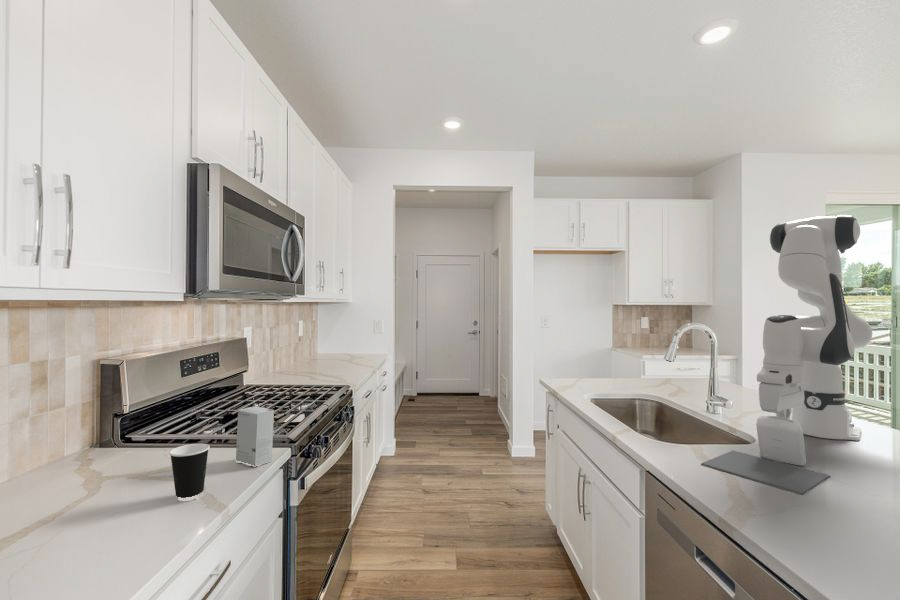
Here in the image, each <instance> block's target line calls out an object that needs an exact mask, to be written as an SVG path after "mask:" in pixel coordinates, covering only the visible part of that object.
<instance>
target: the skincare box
mask: <svg viewBox="0 0 900 600" xmlns="http://www.w3.org/2000/svg"><path fill="white" fill-rule="evenodd" d="M274 414H275V410H274V409H272V408H266V407H262V406H261V407H260V406H255V405H253V406H250V407H249V406H248V407H245V408H240V409H237V428H236V430H237V431H236V432H237V433H236V449H235V450H236V451H235V461H236V460H237V461H241V462H244V463H248V464H251V465H254V466H256V465H259V464H262V463H265V462H269V461H273V443H274V442H273V441H274V422H275V421H274Z"/></svg>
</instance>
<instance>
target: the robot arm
mask: <svg viewBox="0 0 900 600" xmlns="http://www.w3.org/2000/svg"><path fill="white" fill-rule="evenodd" d="M860 235H861V226H860V224H859V222H858V220H857V218H855V217H854V216H853V215H849V214H848V215H847V214H838V215H837V216H835V215H830V216H829V215H828V216H826V215H825V216H815V217H810V218H804V219H797V220H792V221H784V222H781V223H777V224H776V225H775V226H774V227H772V229H771V231H770V234H769V243H770V245H771V248H772V250H773V251H774V252H776V253H779V258H778V265H777V266H778V267H777V268H778V269H777V270H778V275H779V278H780V280H781V281H782V282H783V283H784V284H785V285H787V286H788V287H790V288H792V289H795V290H797V296H798V298H799V299H800V300H801V302H804V303H805V304H807V305H810V306H814V307H815V308H817V309H818V310H819V311H818V312H819V315H791V314H790V315H789V314H781V315H779V314H778V315H772V316H769V317H767V318H766V319H765V321H764V324H763V325H764V326H763V333H762V349H763V352H764V356H763V360H762V368H761V370H760V371H759V372H758V373H757V374H756V382H758V383H759V385H758V399H759V406H760V409H761V411H763V412H766V413H774V414H775V416H777V417H783V418H787V419H791V420H794V421H796V422H799V423H800V424H801V426H802V430H803V435H806V436H810V437H815V438H821V439H828V440H829V439H830V440H846V441H847V440H849V441H860V439H861V435H862V434H861V433H862V428H860V427H859V426H858V427H857V426H855V424H854V423H853V416H852V412H851V411H850V409H849V408H848V407H847V405H846V403H847V402H846V391H844V390H843V388H844V387H843V382H844V381H843V371H842V368H841V367H840V366H841V365H843V364H846V363H847V362H849V361H850V360H851V359H853V358H854V354H855V349H860V348H864V347H866V346H867V345H868V344H869V343H870V342H871V340H872V337H873V329H872V327H871V325H870V324H869V322H868V321H866V320H865V319H864V318H862V317H861V316H859V315H857V314H856V313H854V312H853V311H852V309H851V308H850V307H849V306H848V304H847V302H846V301H845V295H844V291H843V283H842V281H843V279H842V275H843V274H842V263H841V255H840V254H844V253H845V252H846V250H849V249H851V248H852V247H854V245H856V244H857V242H858V240H859V238H860Z"/></svg>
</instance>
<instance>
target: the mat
mask: <svg viewBox="0 0 900 600" xmlns="http://www.w3.org/2000/svg"><path fill="white" fill-rule="evenodd" d="M701 466H705V467H708V468H712V469H715V470H718V471H721V472H725V473H728V474H732V475H735V476H738V477H741V478H746V479H748V480H751V481H756V482H759V483H763V484H765V485H768V486H772V487H774V488H779V489H783V490H785V491H789V492H790V493H791V492H792V493H795V494H798V495H802V496H803V495H805V494H806V493H807V491H808V492H810V491H811V490H812V489H814V488H815V487H817V486H818V485H820V484H821V483H823V482H824V481H826V480H827V479H829V478H831V475H830V474H827V473H823V472H819V471H816V470H811V469H808V468H807V469H806V468H804V467H799V466H797V465H793V464H789V463H785V462H780V461H776V460H771V459H767V458H763V457H761V456H756V455H752V454H749V453H744V452H742V451H741V452H740V451H737V450H732V449H731V450H730V451H728V452H725V453H723V454H720V455H718V456H716V457H713V458H711V459H709V460H708V459H707V460H706V461H703V462H701ZM810 489H811V490H810Z"/></svg>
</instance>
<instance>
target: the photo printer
mask: <svg viewBox="0 0 900 600" xmlns="http://www.w3.org/2000/svg"><path fill="white" fill-rule="evenodd" d="M791 419H792V418H790V419H787V418H783V417H777V416H776V415H761V416H758V417H757V419H756V432H757V433H756V434H757V440H758V450H759V455H760V456H759V457H761V458H765V459H769V460H773V461H777V462H781V463H785V464H789V465H794V466H801V467H802V466H805V465H806V464H807V458H806V457H807V456H806V447H805V439H804V434H803V430H802V426H801V424H800V423H799V422H796V421H794V420H791Z"/></svg>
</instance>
